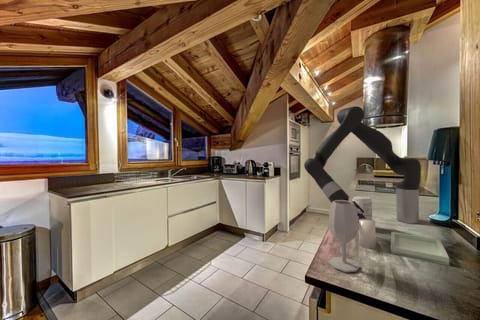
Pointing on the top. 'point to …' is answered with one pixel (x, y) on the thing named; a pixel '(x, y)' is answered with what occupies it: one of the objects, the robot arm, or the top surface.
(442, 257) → the tray
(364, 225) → the white domed cylinder
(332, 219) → the wineglass
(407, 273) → the top surface
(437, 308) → the top surface
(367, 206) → the supplement can
